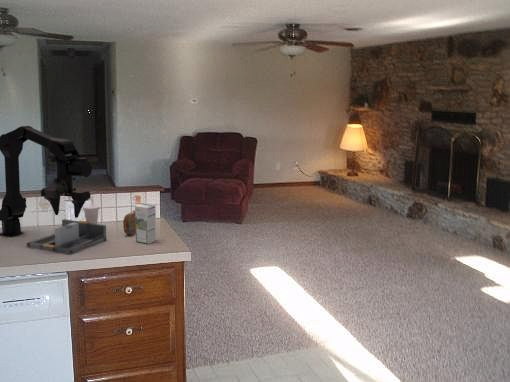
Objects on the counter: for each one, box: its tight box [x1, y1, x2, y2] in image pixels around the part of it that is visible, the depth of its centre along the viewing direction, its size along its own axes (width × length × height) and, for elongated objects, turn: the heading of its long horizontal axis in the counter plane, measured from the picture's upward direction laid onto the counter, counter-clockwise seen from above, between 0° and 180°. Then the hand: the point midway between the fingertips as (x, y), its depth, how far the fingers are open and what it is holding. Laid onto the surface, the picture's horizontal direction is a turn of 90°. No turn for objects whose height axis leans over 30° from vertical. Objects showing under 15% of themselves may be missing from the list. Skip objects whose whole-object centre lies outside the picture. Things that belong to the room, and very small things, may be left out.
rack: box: [26, 218, 107, 256], centre depth 204 cm, size 20×20×6 cm
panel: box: [54, 222, 80, 246], centre depth 204 cm, size 2×10×7 cm, turn 157°
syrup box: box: [134, 202, 157, 245], centre depth 209 cm, size 6×6×14 cm
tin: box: [122, 209, 136, 236], centre depth 222 cm, size 15×3×8 cm, turn 168°
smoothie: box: [82, 195, 100, 224], centre depth 224 cm, size 6×6×14 cm
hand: (66, 216), depth 203 cm, fingers open, 9 cm apart
